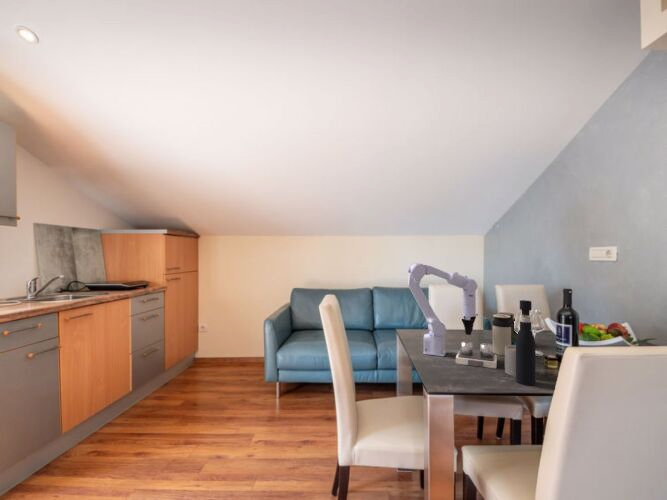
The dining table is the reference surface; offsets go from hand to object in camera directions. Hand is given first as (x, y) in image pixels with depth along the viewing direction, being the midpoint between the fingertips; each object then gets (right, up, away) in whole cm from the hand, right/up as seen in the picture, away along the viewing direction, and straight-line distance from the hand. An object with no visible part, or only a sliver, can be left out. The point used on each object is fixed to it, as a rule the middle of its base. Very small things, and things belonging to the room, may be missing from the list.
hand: (469, 333), depth 170 cm
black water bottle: (+7, -10, -37) cm, 39 cm away
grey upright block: (+10, -10, -26) cm, 29 cm away
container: (+26, -10, +18) cm, 34 cm away
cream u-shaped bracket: (-1, -10, -13) cm, 16 cm away
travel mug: (+16, -10, +1) cm, 19 cm away
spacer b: (+2, -7, -14) cm, 16 cm away
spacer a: (-5, -7, -11) cm, 14 cm away
